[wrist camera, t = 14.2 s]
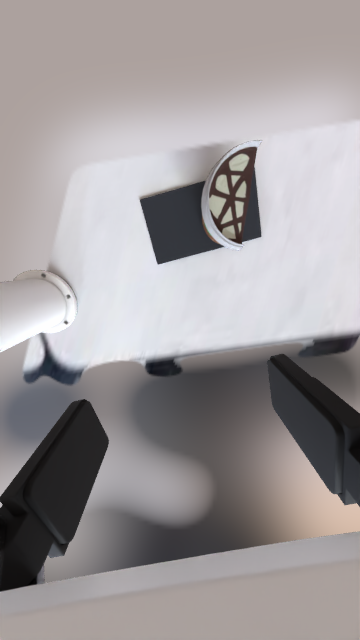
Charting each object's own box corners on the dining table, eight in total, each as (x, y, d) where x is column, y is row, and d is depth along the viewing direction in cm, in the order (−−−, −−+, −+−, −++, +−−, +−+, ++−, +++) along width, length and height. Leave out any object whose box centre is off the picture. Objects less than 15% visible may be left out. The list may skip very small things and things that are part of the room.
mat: (157, 264, 34) (157, 264, 34) (140, 200, 31) (139, 199, 30) (260, 236, 33) (261, 236, 32) (253, 167, 30) (254, 166, 29)
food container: (199, 172, 29) (209, 128, 20) (235, 176, 30) (263, 134, 20) (192, 251, 33) (198, 246, 23) (224, 253, 33) (243, 249, 24)
